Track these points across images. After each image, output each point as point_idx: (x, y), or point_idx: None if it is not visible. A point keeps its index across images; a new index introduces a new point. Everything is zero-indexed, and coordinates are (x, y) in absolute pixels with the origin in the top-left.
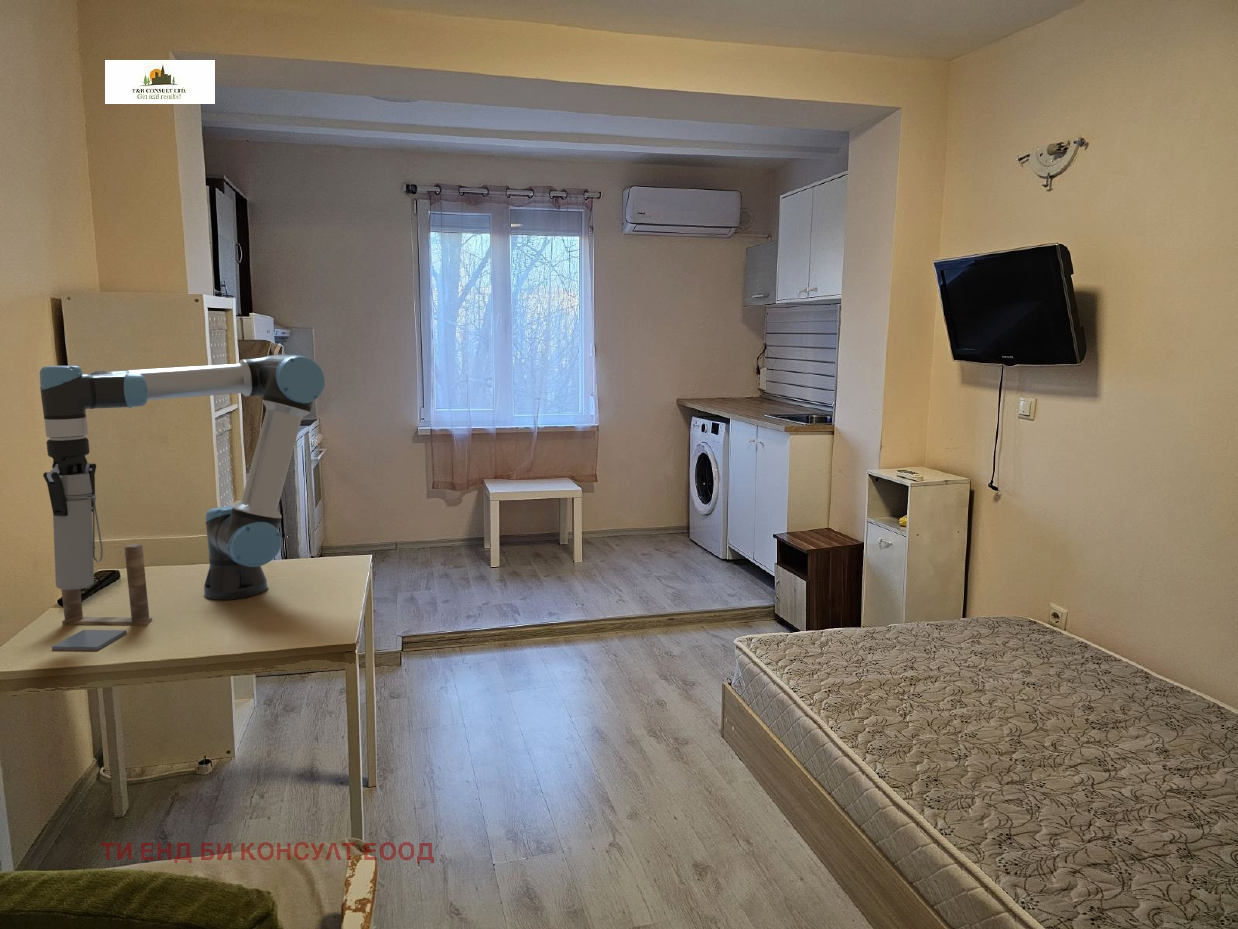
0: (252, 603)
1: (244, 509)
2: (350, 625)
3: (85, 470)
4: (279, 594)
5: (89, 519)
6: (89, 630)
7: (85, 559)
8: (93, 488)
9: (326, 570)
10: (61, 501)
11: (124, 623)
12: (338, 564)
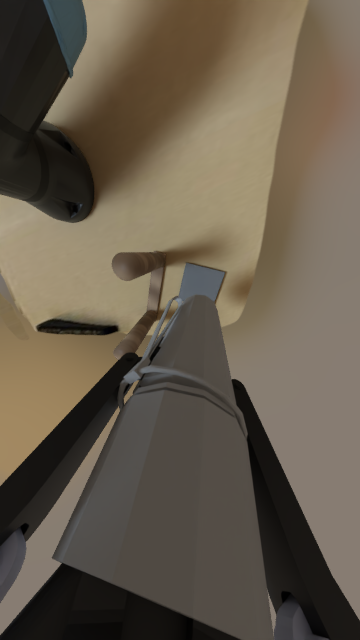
0: (101, 131)
1: None
2: None
3: (13, 568)
4: (60, 91)
5: (194, 335)
6: (180, 294)
7: (209, 308)
8: (90, 401)
9: None
10: (264, 430)
11: (162, 273)
12: None
